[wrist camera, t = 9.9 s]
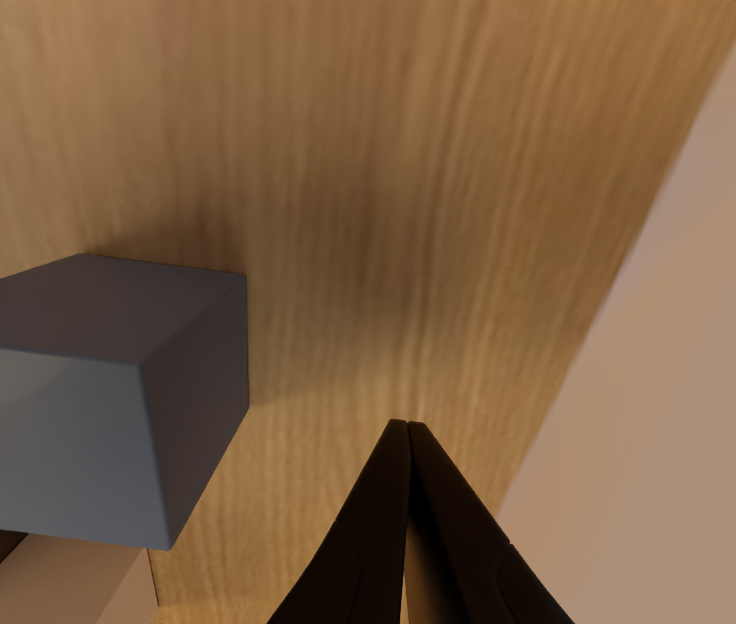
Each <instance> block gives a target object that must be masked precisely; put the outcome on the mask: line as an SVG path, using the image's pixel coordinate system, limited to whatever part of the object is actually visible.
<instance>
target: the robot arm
mask: <svg viewBox="0 0 736 624" xmlns="http://www.w3.org/2000/svg"><path fill="white" fill-rule="evenodd" d="M403 574H404V575H405V586H406V597H407V608H408V619H409V624H575V623H574V622H573V621H572V620H571V619H570V617H569V616H568V615H567V614H566V612H565V611H564V610H563V609H562V608H561V606H560V605H559V604H558V603H557V602H556V600H555V599H554V598H553V597H552V596H551V594H550V593H549V592H548V591H547V590H546V588H545V587H544V586H543V584H542V583H541V582H540V580H539V579H538V578H537V577H536V575H535V574H534V572H533V571H532V570H531V569H530V567H529V566H528V565H527V563H526V562H525V561H524V559H523V558H522V556H521V555H520V554H519V552H518V551H517V550H516V548H515V547H514V545H513V544H510V540H509V539H508V537H507V536H506V535H505V533H504V532H503V531H502V529H501V528H500V526H499V525H498V524H497V522H496V521H495V519H494V518H493V517H492V515H491V514H490V513H489V511H488V510H487V508H486V507H485V506H484V504H483V503H482V502H481V500H480V499H479V497H478V496H477V495H476V493H475V492H474V491H473V489H472V488H471V486H470V485H469V484H468V482H467V481H466V480H465V478H464V477H463V475H462V474H461V473H460V471H459V470H458V469H457V467H456V466H455V464H454V463H453V462H452V460H451V459H450V457H449V456H448V455H447V453H446V452H445V451H444V449H443V448H442V446H441V445H440V444H439V442H438V441H437V440H436V438H435V437H434V435H433V434H432V433H431V431H430V430H429V429H428V427H427V426H426V425H425V424H424V423H422V422H414V421H409V422H408V423H407V422H406V421H405V420H399V419H390V420H389V422H388V424H387V426H386V428H385V429H384V431H383V433H382V435H381V437H380V439H379V440H378V442H377V444H376V446H375V448H374V450H373V451H372V453H371V455H370V457H369V459H368V461H367V462H366V464H365V466H364V468H363V470H362V472H361V473H360V475H359V477H358V479H357V481H356V483H355V484H354V486H353V488H352V490H351V492H350V494H349V495H348V497H347V499H346V501H345V503H344V505H343V506H342V508H341V510H340V512H339V514H338V516H337V517H336V520H335V521H334V522H333V524H332V526H331V528H330V530H329V532H328V533H327V535H326V537H325V539H324V540H323V542H322V544H321V545H320V547H319V549H318V550H317V552H316V554H315V555H314V557H313V559H312V560H311V562H310V563H309V565H308V566H307V568H306V569H305V571H304V572H303V574H302V575H301V576H300V578H299V579H298V581H297V582H296V584H295V585H294V587H293V588H292V589H291V591H290V592H289V593H288V595H287V596H286V597H285V599H284V600H283V602H282V603H281V604H280V606H279V607H278V608H277V610H276V611H275V612H274V614H273V615H272V617H271V618H270V619H269V621H268V622H267V623H266V624H400V613H401V600H402V587H403Z"/></svg>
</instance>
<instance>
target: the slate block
mask: <svg viewBox="0 0 736 624" xmlns="http://www.w3.org/2000/svg"><path fill="white" fill-rule="evenodd" d="M247 411H248V362H247V313H246V276H245V275H243V274H236V273H228V272H220V271H213V270H205V269H197V268H189V267H182V266H174V265H166V264H158V263H151V262H143V261H135V260H127V259H120V258H112V257H104V256H96V255H89V254H81V253H79V254H76V255H73V256H69V257H66V258H63V259H60V260H57V261H54V262H51V263H48V264H45V265H42V266H39V267H35V268H32V269H29V270H26V271H23V272H20V273H17V274H14V275H11V276H8V277H5V278H1V279H0V529H4V530H11V531H19V532H26V533H34V534H42V535H49V536H57V537H64V538H72V539H80V540H87V541H95V542H102V543H110V544H118V545H125V546H133V547H140V548H148V549H156V550H163V551H170V550H171V549H172V547H173V545H174V544H175V542H176V540H177V538H178V536H179V534H180V533H181V531H182V529H183V527H184V525H185V524H186V522H187V520H188V518H189V516H190V515H191V513H192V511H193V509H194V507H195V505H196V504H197V502H198V500H199V498H200V496H201V495H202V493H203V491H204V489H205V487H206V485H207V484H208V482H209V480H210V478H211V476H212V475H213V473H214V471H215V469H216V467H217V465H218V464H219V462H220V460H221V458H222V456H223V455H224V453H225V451H226V449H227V447H228V446H229V444H230V442H231V440H232V438H233V436H234V435H235V433H236V431H237V429H238V427H239V426H240V424H241V422H242V420H243V418H244V416H245V415H246V413H247Z"/></svg>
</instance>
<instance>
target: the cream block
mask: <svg viewBox="0 0 736 624" xmlns="http://www.w3.org/2000/svg"><path fill="white" fill-rule="evenodd" d="M158 608H159V607H158V602H157V597H156V592H155V587H154V582H153V577H152V572H151V567H150V562H149V557H148V552H147V548H140V547H133V546H125V545H118V544H110V543H102V542H95V541H87V540H80V539H72V538H64V537H57V536H49V535H42V534H34V533H29V534H28V535H27V536H26V537H25V538H24V539H23V540H22V541H21V542H20V544H19V545H18V546H17V547H16V548H15V549H14V550H13V551H12V552H11V553H10V554H9V555H8V556H7V557H6V558H5V559H4V560H3V561H2V563H1V564H0V624H151V623H152V621H153V619H154V617H155V615H156V613H157V611H158Z"/></svg>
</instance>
